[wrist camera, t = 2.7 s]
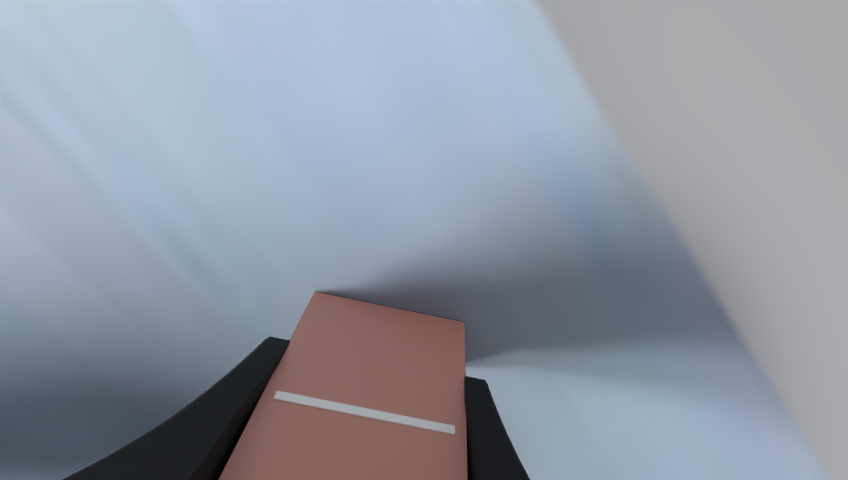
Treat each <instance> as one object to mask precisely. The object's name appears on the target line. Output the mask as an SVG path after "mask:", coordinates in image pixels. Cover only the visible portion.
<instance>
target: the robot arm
mask: <svg viewBox="0 0 848 480" xmlns="http://www.w3.org/2000/svg"><path fill="white" fill-rule="evenodd" d="M289 343H290V341H289V340H284V339H279V338H274V337H268V338H267V339H265V340H264V341H263V342H262V343H261V344H260V345H259V346H258V347H257V348H256V349H255V350H254V351H253V352H252V353H250V354H249V355H248V356H247V357H246V358H245V359H244V360H243V361H242V362H241V363H239V364H238V365H237V366H236V367H235V368H234V369H233V370H231V371H230V372H229V373H228V374H227V375H225V376H224V377H223V378H222V379H221V380H219V381H218V382H217V383H216V384H215V385H213V386H212V387H211V388H210V389H208V390H207V391H206V392H205V393H203V394H202V395H201V396H199V397H198V398H197V399H195V400H194V401H193V402H191V403H190V404H189V405H187V406H186V407H185V408H183V409H182V410H181V411H179V412H178V413H176V414H175V415H174V416H172V417H171V418H169V419H168V420H166V421H165V422H163V423H162V424H160V425H159V426H157V427H156V428H154V429H153V430H151V431H149V432H148V433H146V434H145V435H143V436H141V437H140V438H138V439H136V440H135V441H133V442H131V443H130V444H128V445H126V446H125V447H123V448H121V449H120V450H118V451H116V452H114V453H113V454H111V455H109V456H107V457H106V458H104V459H102V460H100V461H98V462H96V463H94V464H92V465H90V466H88V467H86V468H84V469H82V470H81V471H79V472H77V473H75V474H73V475H71V476H69V477H67V478H65V479H63V480H219V478H220V476H221V474H222V472H223V470H224V468H225V466H226V464H227V462H228V460H229V458H230V456H231V454H232V452H233V451H234V449H235V447H236V445H237V443H238V441H239V439H240V437H241V435H242V433H243V431H244V429H245V427H246V425H247V423H248V421H249V419H250V417H251V415H252V413H253V411H254V409H255V408H256V406H257V404H258V402H259V400H260V398H261V396H262V394H263V392H264V390H265V388H266V386H267V384H268V382H269V380H270V378H271V376H272V374H273V373H274V371H275V370H276V368H277V367H278V365H279V363H280V361H281V359H282V357H283V355H284V353H285V351H286V349H287V347H288V345H289ZM464 394H465V410H466V427H467V480H530V479H529V477H528V475H527V473H526V471H525V469H524V467H523V465H522V464H521V462H520V460H519V458H518V456H517V454H516V452H515V450H514V447H513V445H512V443H511V441H510V439H509V437H508V434H507V432H506V430H505V428H504V426H503V423H502V421H501V418H500V416H499V414H498V411H497V409H496V406H495V404H494V401H493V398H492V396H491V393H490V390H489V387H488V384H487V383H486V381H485V380H482V379H477V378H472V377H467V376H466V377H465V376H464Z"/></svg>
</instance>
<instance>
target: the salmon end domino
mask: <svg viewBox="0 0 848 480" xmlns="http://www.w3.org/2000/svg"><path fill="white" fill-rule="evenodd" d="M464 376H465V377H466V373H465V322H460V321H455V320H451V319H446V318H441V317H436V316H431V315H426V314H421V313H417V312H412V311H407V310H402V309H397V308H392V307H387V306H383V305H378V304H373V303H368V302H363V301H358V300H353V299H349V298H344V297H339V296H334V295H329V294H324V293H319V292H314V294H313V296H312V298H311V300H310V302H309V304H308V306H307V308H306V310H305V312H304V314H303V316H302V318H301V320H300V322H299V324H298V325H297V327H296V329H295V331H294V333H293V335H292V337H291V339H290V343H289V345H288V347H287V349H286V351H285V353H284V355H283V357H282V359H281V361H280V363H279V365H278V367H277V368H276V370H275V371H274V373H273V374H272V376H271V378H270V380H269V382H268V384H267V386H266V388H265V390H264V392H263V394H262V396H261V398H260V400H259V402H258V404H257V406H256V408H255V409H254V411H253V413H252V415H251V417H250V419H249V421H248V423H247V425H246V427H245V429H244V431H243V433H242V435H241V437H240V439H239V441H238V443H237V445H236V447H235V449H234V451H233V452H232V454H231V456H230V458H229V460H228V462H227V464H226V466H225V468H224V470H223V472H222V474H221V476H220V478H219V480H467V427H466V410H465V394H464Z"/></svg>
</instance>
